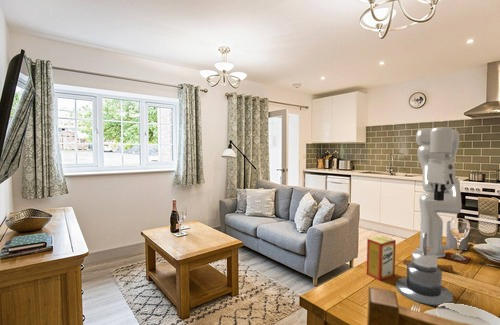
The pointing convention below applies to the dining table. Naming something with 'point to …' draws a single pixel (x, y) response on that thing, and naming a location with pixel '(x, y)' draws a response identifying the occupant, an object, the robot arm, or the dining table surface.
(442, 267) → the primitive tool
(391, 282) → the dining table surface
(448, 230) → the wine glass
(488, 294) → the dining table surface
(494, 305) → the dining table surface
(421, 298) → the grey stepped cylinder
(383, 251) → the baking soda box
